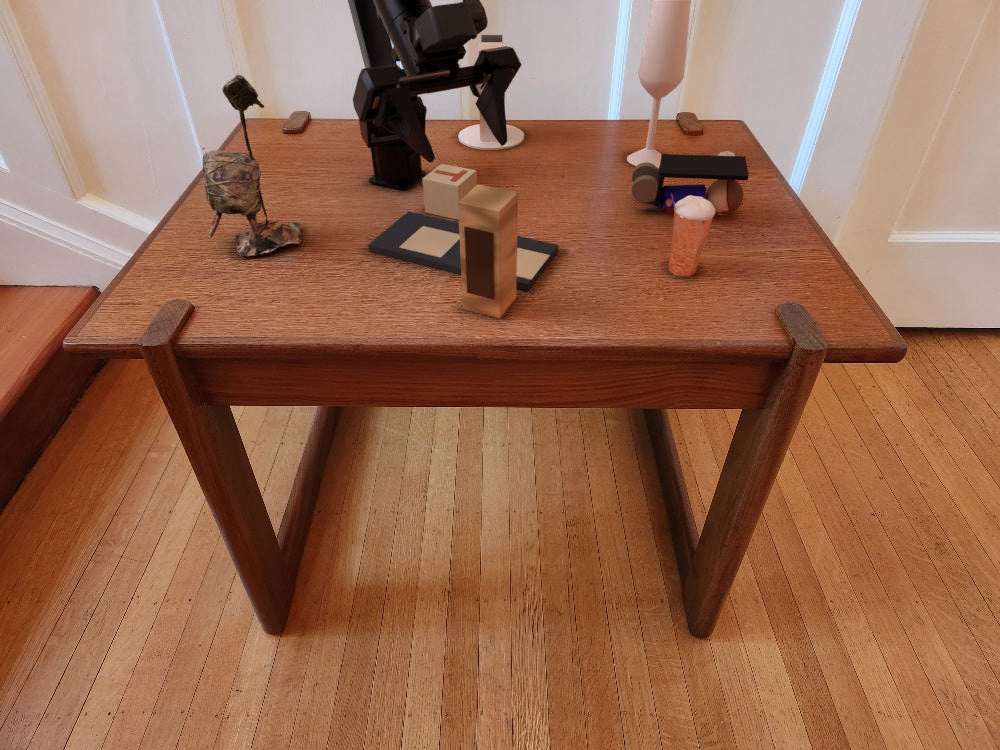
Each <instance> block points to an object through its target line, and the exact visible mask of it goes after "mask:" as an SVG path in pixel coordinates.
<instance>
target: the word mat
mask: <svg viewBox="0 0 1000 750" xmlns="http://www.w3.org/2000/svg"><path fill="white" fill-rule="evenodd" d="M367 246H368V251H369V252H370V253H374V254H379V255H381V256H386V257H390V258H394V259H399V260H402V261H406V262H410V263H414V264H417V265H422V266H426V267H429V268H433V269H438V270H442V271H446V272H450V273H454V274H458V275H461V255H460V235H459V221H453V220H449V219H444V218H440V217H435V216H431V215H426V214H421V213H417V212H413V211H407V212H406V213H405V214H404V215H402V216H401V217H400V218H398V220H396V221H395V222H394V223H393V224H391V225H390V226H389V227H388V228H387V229H385V230H384V231H383V232H382V233H380V235H378V236H377V237H376V238H374V239H373V240H372V241H371V242H370V243H368V244H367ZM558 252H559V244H556V243H552V242H547V241H542V240H538V239H534V238H529V237H524V236H521V235H517V282H516V290H517V289H518V290H522V291H526V292H528V291H529V290H530V289H531V287H532V286H533V285H534V284H535V282H536V281H537V280H538V278H539V277H540V275H542V273H543V272H544V271H545V269H546V268H547V266H548V265H549V264H550V263H551V261H552V260H553V258H554V257H555V256H556V255H557V254H558Z"/></svg>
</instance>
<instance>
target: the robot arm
mask: <svg viewBox="0 0 1000 750" xmlns="http://www.w3.org/2000/svg"><path fill="white" fill-rule="evenodd" d="M347 3H348V6H349V10H350V15H351V18H352V24H353V26H354V30H355V35H356V38H357V42H358V45H359V51H360V54H361V56H362V61H363V66H364V68H361V70H360V72H359V74H358V78H357V81H356V85H355V89H354V93H353V96H352V104H353V108H354V110H355V113H356V115H357V117H358V125H359V130H360V135H361V139H362V140H363V142H364V143H365V145H366V147H367V149H370V152H371V153H370V154H371V162H372V168H373V169H372V170H373V175H371V177H370V178H368V183H369V184H372V185H377V186H381V187H386V188H391V189H395V190H400V191H406V190H408V189H409V188H410V187H411V186H413V185H414V184H415V183H417V182H418V181H419V180H420V179H422V178H424V177H425V176H426V171H425V170H423V169H422V158H423V159H424V160H425V161H426V162H428V163H429V164H430V163H433V162H434V160H435V159H436V156H435V153H434V150H433V146H432V145H431V142H430V140H429V138H428V136H427V133H426V119H427V118H426V117H427V112H428V110H427V106H426V105H425V104H424V102H423V99H422V97H421V95H426V94H427V95H430V94H435V93H440V92H445V91H450V90H456V89H462V88H468V87H469V89H470V92H471V94H472V95H473V96H474V97H476V98H477V99H476V102H475V106H476V108H477V109H478V111H479V114H480V113H481V115H482V116H483V118H484V120H485V121H486V123H487V125H488V126H489V128H490V130H491V132H492V133H493V135H494V137H495V138H496V139H497V141H498V142H499V143H500V145H501V146H503V145H505V144H506V142H507V140H508V139H507V127H506V125H507V118H506V105H505V104H506V103H505V102H506V101H505V100H506V91H507V90H508V89H509V87H510V85H511V83H512V82H513V80H514V79H515V77H516V75H517V73H518V72H519V70H520V68H521V67H522V65H523V64H522V62H521V60H520V58H519V55H518V53H517V52H516V50H515V49H514V47H511V46H508V45H506V46H504V45H503V46H502V47H498V48H492V49H485V50H481V52H480V54H479V56H477V57H476V58H477V59H476V60H475V62H474V64H473V65H468V66H462V67H460V64H459V61H460V60H464V58H465V55H466V54H467V50H466V48H465V45H466V44H467V43H468V42H470V41H471V40H475V39H477V38H478V35H479V34H481V33H482V32H483V31H484V30H485V29H487V28H488V23H489V21H488V16H487V13H486V9H485V7H484V5H483V4H482V2H481V0H462V1H460V2H455V3H446V4H439V5H434V6H433V4H432V2H431V0H347ZM397 62H400V64H401V66H402V67H400V65H398V63H397ZM421 157H422V158H421Z"/></svg>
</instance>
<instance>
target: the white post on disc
mask: <svg viewBox="0 0 1000 750" xmlns="http://www.w3.org/2000/svg"><path fill="white" fill-rule="evenodd" d="M498 47H503V34H480V41H479V43H478V56H479V54H480V52H481V50H485V49H492V48H498ZM478 56H477V57H478ZM506 127H507V139H508V140H507V142H506V144H505V145H503V146H501V145H500V143H499V142H498V141H497V139H496V138H495V137H494V135H493V133H492V132H491V130H490V128H489V126H488V125H487V123H486V121H485V120H484V118H483V116H482V115H481V113H480V112H479V123H478V124H473V125H470V126H467V127H464V128H462V129H461V130H460V131H459V133H458V136H457V137H458V141H459V142H460V143H461V144H462V145H464V146H466V147H468V148H471V149H475V150H480V151H481V150H482V151H499V150H507V149H511V148H515V147H516V146H519V145H520V144H522V143H523V141H524V140H525V133H524V132H523V130H521V129H520V128H518V127H516V126H513V125H510V124H506Z"/></svg>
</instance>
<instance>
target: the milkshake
mask: <svg viewBox="0 0 1000 750" xmlns="http://www.w3.org/2000/svg"><path fill="white" fill-rule="evenodd" d="M671 196H672V194H671ZM672 200H673V196H672ZM673 204H674V208H673V221H672V236H671V243H670V244H671V245H670V253H669V254H670V255H669V261H668V272H670V273H672V274H673V275H675V276H679V277H691V276H693V275H694V274H695V273H696V272H697V268H698V266H699V261H700V258H701V255H702V253H703V249H704V246H705V243H706V240H707V237H708V234H709V231H710V228H711V225H712V223H713V220H714V217H715V214H716V213H715V208H714V206H713V205H712V203H711V202H710V201H708V200H706V199H704V198H703V197H700V196H692V195H690V196H687V197H685V198H683V199H681V200H679V201H678V202H677V203H676V204H675V203H674V200H673Z"/></svg>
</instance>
